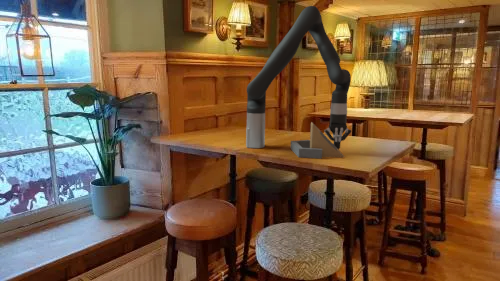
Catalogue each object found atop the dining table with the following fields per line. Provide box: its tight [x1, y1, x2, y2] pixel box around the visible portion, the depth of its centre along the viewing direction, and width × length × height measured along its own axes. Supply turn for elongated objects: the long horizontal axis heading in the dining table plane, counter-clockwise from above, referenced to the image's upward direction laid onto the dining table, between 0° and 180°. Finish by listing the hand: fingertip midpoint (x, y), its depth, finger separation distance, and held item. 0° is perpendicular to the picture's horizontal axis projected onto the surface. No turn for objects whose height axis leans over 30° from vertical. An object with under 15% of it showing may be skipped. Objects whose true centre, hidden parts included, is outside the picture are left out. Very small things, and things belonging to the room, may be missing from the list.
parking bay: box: [290, 139, 323, 159], centre depth 169 cm, size 10×24×4 cm, turn 5°
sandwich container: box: [309, 121, 345, 158], centre depth 164 cm, size 9×15×15 cm, turn 85°
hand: (336, 149), depth 170 cm, fingers closed
